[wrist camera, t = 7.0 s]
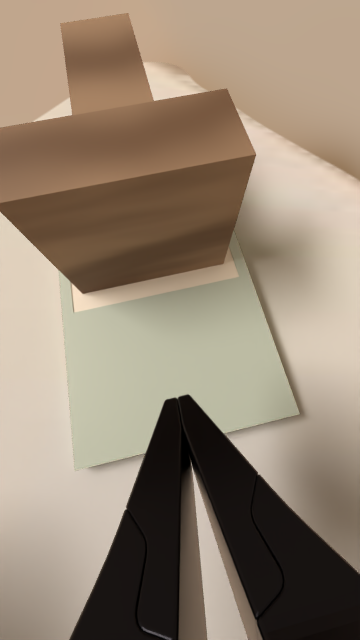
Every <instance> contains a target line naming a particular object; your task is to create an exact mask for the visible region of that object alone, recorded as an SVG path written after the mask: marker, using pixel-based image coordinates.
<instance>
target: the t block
mask: <svg viewBox="0 0 360 640" xmlns="http://www.w3.org/2000/svg"><path fill="white" fill-rule="evenodd" d="M61 32H62V39H63V47H64V54H65V62H66V70H67V77H68V84H69V93H70V100H71V108H72V115H71V116H65V117H60V118H54V119H48V120H42V121H36V122H31V123H25V124H19V125H14V126H8V127H3V128H0V212H1V213H2V214H3V215H4V216H5V217H6V218H7V219H8V220H9V221H10V222H11V223H12V224H13V225H14V226H15V227H16V228H17V229H18V230H19V231H20V232H21V233H22V234H23V235H24V236H25V237H26V238H27V239H28V240H29V241H30V242H31V243H32V244H33V245H34V246H35V247H36V248H37V249H38V250H39V251H40V252H41V253H42V254H43V255H44V256H45V257H46V258H47V259H48V260H49V261H50V262H51V263H52V264H53V265H54V266H55V267H56V268H57V269H58V270H59V271H60V272H61V273H62V274H63V275H64V276H65V277H66V278H67V279H68V280H69V281H70V282H71V283H72V284H73V285H74V286H75V287H76V288H77V289H78V290H79V291H80V292H81V293H82V294H85V293H89V292H94V291H99V290H104V289H108V288H113V287H118V286H122V285H127V284H132V283H136V282H141V281H146V280H150V279H155V278H160V277H165V276H169V275H174V274H179V273H183V272H188V271H193V270H197V269H202V268H207V267H211V266H216V265H221V264H224V260H225V257H226V254H227V250H228V247H229V244H230V240H231V237H232V234H233V230H234V227H235V223H236V220H237V217H238V213H239V210H240V207H241V203H242V200H243V197H244V193H245V190H246V187H247V183H248V180H249V177H250V173H251V170H252V166H253V163H254V160H255V156H256V153H255V151H254V149H253V146H252V144H251V142H250V140H249V137H248V135H247V133H246V131H245V128H244V126H243V124H242V122H241V119H240V117H239V115H238V113H237V110H236V108H235V106H234V104H233V101H232V99H231V97H230V95H229V93H228V90H227V89H221V90H215V91H210V92H204V93H198V94H192V95H187V96H181V97H175V98H169V99H163V100H158V101H154V100H153V97H152V93H151V90H150V86H149V83H148V80H147V76H146V73H145V69H144V66H143V62H142V59H141V56H140V52H139V49H138V45H137V42H136V39H135V35H134V32H133V28H132V25H131V22H130V18H129V15H128V13H126V14H119V15H113V16H106V17H99V18H93V19H87V20H80V21H73V22H67V23H61Z"/></svg>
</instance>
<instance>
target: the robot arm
mask: <svg viewBox="0 0 360 640" xmlns="http://www.w3.org/2000/svg"><path fill="white" fill-rule="evenodd" d="M191 463H192V465H191ZM192 467H193V470H194V474H195V477H196V480H197V483H198V486H199V489H200V492H201V495H202V498H203V502H204V505H205V508H206V511H207V514H208V517H209V520H210V523H211V526H212V529H213V532H214V535H215V539H216V542H217V545H218V548H219V551H220V554H221V557H222V560H223V563H224V566H225V569H226V572H227V576H228V579H229V582H230V585H231V588H232V591H233V594H234V597H235V600H236V603H237V606H238V609H239V613H240V616H241V619H242V622H243V625H244V628H245V631H246V634H247V637H248V640H360V574H359V573H358V572H357V571H356V570H355V569H354V568H353V567H352V566H351V565H350V564H349V563H348V562H347V561H346V560H344V559H343V558H342V557H341V556H340V555H339V554H338V553H337V552H336V551H335V550H334V549H333V548H332V547H331V546H330V545H328V544H327V543H326V542H325V541H324V540H323V539H322V538H321V537H320V536H319V535H318V534H317V533H316V532H315V531H314V530H312V529H311V528H310V527H309V526H308V525H307V524H306V523H305V522H304V521H303V520H302V519H301V518H300V517H299V516H298V515H297V514H296V513H295V512H294V511H293V510H292V509H291V508H290V507H289V506H288V505H287V504H286V503H285V502H284V501H283V500H282V499H281V498H280V496H279V495H278V494H277V493H276V492H275V491H274V490H273V489H272V488H271V487H270V486H269V484H268V483H267V482H266V481H265V480H264V479H263V478H262V476H261V475H258V472H257V471H256V470H255V469H254V467H253V466H252V465H251V464H250V463H249V462H248V461H247V459H246V458H245V457H244V456H243V455H242V454H241V453H240V451H239V450H238V449H237V448H236V447H235V446H234V445H233V443H232V442H231V441H230V440H229V439H228V438H227V437H226V435H225V434H224V433H223V432H222V431H221V430H220V429H219V428H218V426H217V425H216V424H215V423H214V422H213V421H212V420H211V418H210V417H209V416H208V415H207V414H206V413H205V412H204V410H203V409H202V408H201V407H200V406H199V405H198V404H197V402H196V401H195V400H194V399H193V398H192V397H191V396H190V395H189V394H186V395H182V396H179V397H178V399H177V398H176V397H174V398H170V399H166V400H165V401H164V404H163V406H162V409H161V412H160V415H159V417H158V420H157V423H156V426H155V428H154V431H153V434H152V437H151V439H150V442H149V445H148V448H147V450H146V453H145V456H144V459H143V461H142V464H141V467H140V470H139V472H138V475H137V478H136V481H135V483H134V486H133V489H132V492H131V494H130V497H129V500H128V503H127V506H126V508H127V509H126V510H125V511H124V513H123V516H122V519H121V522H120V524H119V527H118V530H117V532H116V535H115V537H114V540H113V543H112V545H111V548H110V550H109V553H108V555H107V558H106V560H105V562H104V564H103V567H102V569H101V571H100V574H99V576H98V578H97V580H96V583H95V585H94V587H93V589H92V592H91V594H90V596H89V598H88V600H87V602H86V605H85V607H84V609H83V611H82V613H81V615H80V618H79V620H78V622H77V624H76V626H75V628H74V631H73V633H72V635H71V637H70V639H69V640H207V630H206V618H205V607H204V596H203V585H202V574H201V562H200V551H199V540H198V529H197V518H196V506H195V495H194V484H193V473H192Z"/></svg>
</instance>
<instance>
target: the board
mask: <svg viewBox="0 0 360 640" xmlns="http://www.w3.org/2000/svg"><path fill="white" fill-rule="evenodd" d="M58 271H59V270H58ZM59 283H60V295H61V308H62V320H63V332H64V345H65V357H66V369H67V382H68V394H69V406H70V419H71V431H72V443H73V456H74V468H75V471H77V470H81V469H85V468H88V467H92V466H96V465H100V464H104V463H108V462H112V461H116V460H120V459H124V458H128V457H132V456H136V455H140V454H144V453H146V450H147V448H148V445H149V442H150V439H151V437H152V434H153V431H154V428H155V426H156V423H157V420H158V417H159V415H160V412H161V409H162V406H163V404H164V401H165V400H166V399H170V398H174V397H176V398H177V399H178V397H179V396H182V395H186V394H189V395H190V396H191V397H192V398H193V399H194V400H195V401H196V402H197V404H198V405H199V406H200V407H201V408H202V409H203V410H204V412H205V413H206V414H207V415H208V416H209V417H210V418H211V420H212V421H213V422H214V423H215V424H216V425H217V426H218V428H219V429H220V430H221V431H222V432H223V433H228V432H231V431H235V430H239V429H243V428H247V427H251V426H255V425H259V424H263V423H267V422H271V421H275V420H279V419H283V418H287V417H291V416H295V415H299V414H300V413H299V410H298V407H297V404H296V402H295V399H294V396H293V393H292V390H291V388H290V385H289V382H288V379H287V377H286V374H285V371H284V368H283V365H282V363H281V360H280V357H279V354H278V351H277V349H276V346H275V343H274V340H273V337H272V335H271V332H270V329H269V326H268V324H267V321H266V318H265V315H264V312H263V310H262V307H261V304H260V301H259V298H258V296H257V293H256V290H255V287H254V284H253V282H252V279H251V276H250V273H249V270H248V268H247V265H246V262H245V259H244V257H243V254H242V251H241V248H240V245H239V243H238V240H237V237H236V234H235V231H234V230H233V234H232V237H231V240H230V244H229V247H228V250H227V254H226V257H225V260H224V264H221V265H216V266H211V267H207V268H202V269H197V270H193V271H188V272H183V273H179V274H174V275H169V276H165V277H160V278H155V279H150V280H146V281H141V282H136V283H132V284H127V285H122V286H118V287H113V288H108V289H104V290H99V291H94V292H89V293H85V294H82V293H81V292H80V291H79V290H78V289H77V288H76V287H75V286H74V285H73V284H72V283H71V282H70V281H69V280H68V279H67V278H66V277H65V276H64V275H63V274H62V273H61V272H60V271H59Z"/></svg>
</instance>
